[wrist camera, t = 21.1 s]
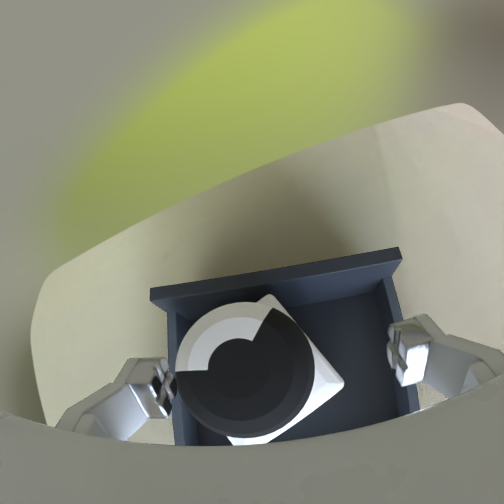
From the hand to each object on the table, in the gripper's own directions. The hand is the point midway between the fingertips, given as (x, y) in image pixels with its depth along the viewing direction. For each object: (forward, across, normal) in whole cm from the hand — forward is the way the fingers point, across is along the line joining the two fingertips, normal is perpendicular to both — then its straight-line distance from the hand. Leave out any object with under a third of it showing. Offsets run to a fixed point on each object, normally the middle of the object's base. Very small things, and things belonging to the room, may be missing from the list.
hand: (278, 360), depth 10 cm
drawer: (+10, 0, +11) cm, 15 cm away
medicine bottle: (+9, +2, +9) cm, 13 cm away
